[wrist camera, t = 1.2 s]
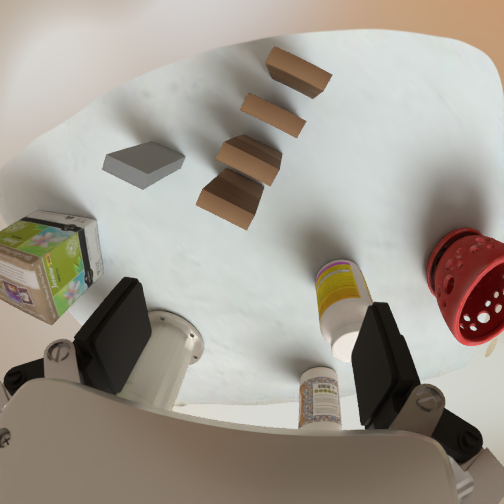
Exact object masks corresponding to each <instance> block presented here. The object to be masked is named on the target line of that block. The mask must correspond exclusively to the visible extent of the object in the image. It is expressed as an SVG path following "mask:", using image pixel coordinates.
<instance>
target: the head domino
mask: <svg viewBox="0 0 504 504" xmlns="http://www.w3.org/2000/svg"><path fill="white" fill-rule="evenodd" d="M184 159H185V156H183V155H181V154H179V153H176V152H174V151H172V150H170V149H168V148H165V147H163V146H161V145H158V144H156V143H154V142H148V143H144V144H140V145H137V146H133V147H130V148H126V149H123V150H119V151H116V152H113V153H110V154H107V155H106V157H105V161H104V164H103V168H102V170H104V171H106V172H108V173H110V174H112V175H114V176H116V177H118V178H120V179H122V180H124V181H126V182H128V183H130V184H132V185H134V186H136V187H138V188H140V189H142V190H143V189H145V188H147V187H148V186H150V185H152V184H154V183H155V182H157V181H159V180H160V179H162V178H164V177H166V176H168V175H169V174H171V173H173V172H175V171H177V170H178V169H180V168H181V166H182V164H183V162H184Z"/></svg>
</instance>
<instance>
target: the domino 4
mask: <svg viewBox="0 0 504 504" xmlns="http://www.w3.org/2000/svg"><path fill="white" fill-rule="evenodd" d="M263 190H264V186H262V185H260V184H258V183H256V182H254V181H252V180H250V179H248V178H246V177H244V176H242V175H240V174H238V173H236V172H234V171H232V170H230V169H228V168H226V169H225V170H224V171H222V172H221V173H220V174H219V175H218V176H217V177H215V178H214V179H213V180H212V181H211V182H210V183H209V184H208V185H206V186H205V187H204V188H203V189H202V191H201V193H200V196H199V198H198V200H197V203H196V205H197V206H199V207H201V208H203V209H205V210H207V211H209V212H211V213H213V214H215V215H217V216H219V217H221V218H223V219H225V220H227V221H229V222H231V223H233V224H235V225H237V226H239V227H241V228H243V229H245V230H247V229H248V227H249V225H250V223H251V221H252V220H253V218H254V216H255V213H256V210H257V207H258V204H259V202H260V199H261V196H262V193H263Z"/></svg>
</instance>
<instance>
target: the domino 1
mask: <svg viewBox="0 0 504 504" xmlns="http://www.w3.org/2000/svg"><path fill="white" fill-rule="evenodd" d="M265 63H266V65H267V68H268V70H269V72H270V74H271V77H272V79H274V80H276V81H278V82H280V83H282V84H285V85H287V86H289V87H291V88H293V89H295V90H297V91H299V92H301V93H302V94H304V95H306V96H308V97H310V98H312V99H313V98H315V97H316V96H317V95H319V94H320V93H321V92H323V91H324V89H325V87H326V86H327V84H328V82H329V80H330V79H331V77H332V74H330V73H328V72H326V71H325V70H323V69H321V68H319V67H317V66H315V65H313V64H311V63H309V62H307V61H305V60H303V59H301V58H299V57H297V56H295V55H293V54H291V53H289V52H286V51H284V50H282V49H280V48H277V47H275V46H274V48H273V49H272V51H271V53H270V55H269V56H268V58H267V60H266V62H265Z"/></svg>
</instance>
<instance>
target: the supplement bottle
mask: <svg viewBox="0 0 504 504" xmlns="http://www.w3.org/2000/svg"><path fill="white" fill-rule="evenodd" d="M315 285H316V294H317V302H318V311H319V322H320V330H321V333H322V335H323V337H324V338H325V339H326V340H327V341H328V342H329V343H330V344H331V349H332V353H333V355H334V356H335V357H336V358H337V359H339V360H341V361H344V362H352V361H351V354H352V350H353V348H354V345H355V342H356V339H357V337H358V334H359V331H360V328H361V326H362V323H363V320H364V317H365V314H366V311H367V308H368V306H369V305H372V304H373V300H372V298H371V295H370V292H369V289H368V287H367V284H366V281H365V279H364V276H363V274H362V272H361V270H360V268H359V267H358V266H357V265H356V264H355V263H353V262H351V261H348V260H335V261H331V262H329V263H327V264H326V265H324V266H323V267H322V268H321V269H320V271H319V272H318V274H317V277H316V281H315Z"/></svg>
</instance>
